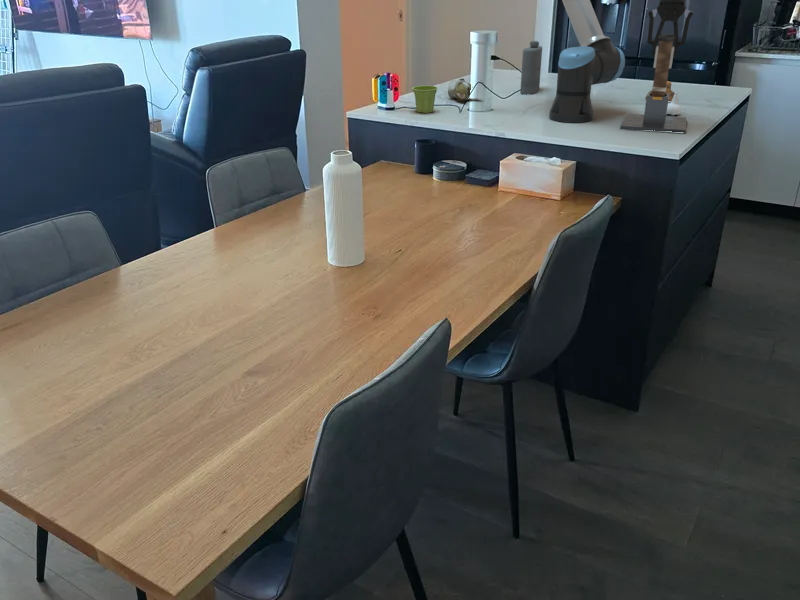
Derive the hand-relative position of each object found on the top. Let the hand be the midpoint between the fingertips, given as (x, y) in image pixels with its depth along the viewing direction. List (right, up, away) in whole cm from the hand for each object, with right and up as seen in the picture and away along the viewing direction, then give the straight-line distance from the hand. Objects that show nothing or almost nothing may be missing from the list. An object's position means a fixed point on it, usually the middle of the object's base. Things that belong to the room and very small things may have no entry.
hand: (662, 67), depth 227 cm
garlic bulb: (+12, -10, +23) cm, 27 cm away
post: (0, -10, +5) cm, 12 cm away
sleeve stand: (0, -17, +8) cm, 19 cm away
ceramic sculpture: (-61, +4, +52) cm, 80 cm away
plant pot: (-76, -6, +33) cm, 83 cm away
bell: (+17, +2, +47) cm, 50 cm away
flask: (-31, +11, +66) cm, 73 cm away
